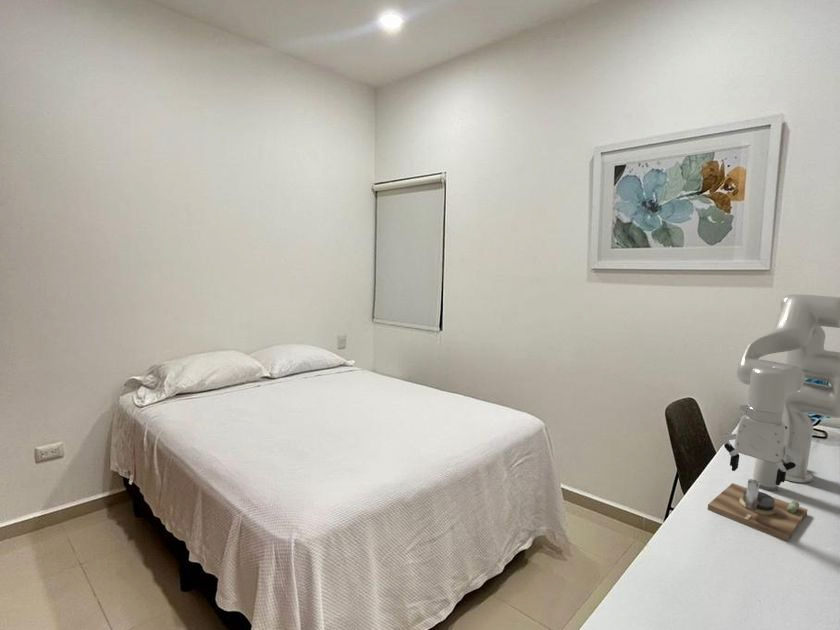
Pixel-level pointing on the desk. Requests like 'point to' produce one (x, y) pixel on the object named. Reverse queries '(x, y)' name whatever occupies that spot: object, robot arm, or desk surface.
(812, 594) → the desk surface
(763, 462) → the travel mug
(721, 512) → the base
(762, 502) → the grey rounded piece
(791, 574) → the desk surface
